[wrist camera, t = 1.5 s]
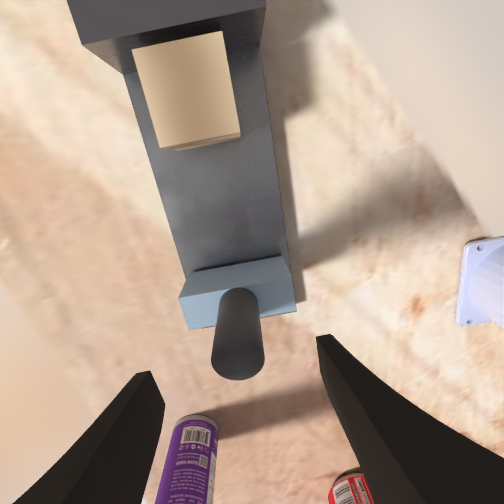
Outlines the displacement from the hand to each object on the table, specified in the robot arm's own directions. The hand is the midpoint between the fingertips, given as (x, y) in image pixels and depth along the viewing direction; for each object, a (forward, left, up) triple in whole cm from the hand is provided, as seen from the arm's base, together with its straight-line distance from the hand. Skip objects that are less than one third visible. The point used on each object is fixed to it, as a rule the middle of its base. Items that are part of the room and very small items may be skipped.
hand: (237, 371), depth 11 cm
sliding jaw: (0, 0, -9) cm, 9 cm away
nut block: (0, -12, -9) cm, 15 cm away
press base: (0, -6, -10) cm, 12 cm away
